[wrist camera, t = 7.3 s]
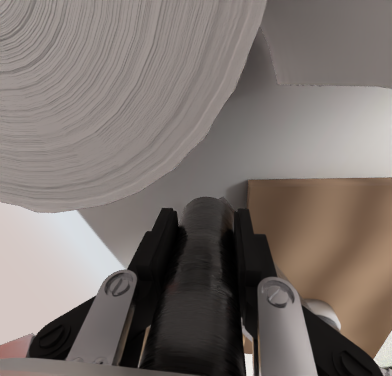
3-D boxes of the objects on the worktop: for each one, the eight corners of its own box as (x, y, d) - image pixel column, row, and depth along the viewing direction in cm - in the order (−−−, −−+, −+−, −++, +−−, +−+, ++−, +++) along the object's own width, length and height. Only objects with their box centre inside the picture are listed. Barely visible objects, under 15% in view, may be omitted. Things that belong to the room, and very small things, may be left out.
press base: (464, 176, 14) (621, 236, 8) (363, 351, 23) (405, 430, 18) (187, 180, 16) (170, 230, 10) (202, 338, 26) (197, 405, 20)
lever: (345, 335, 18) (471, 590, 9) (288, 349, 20) (346, 571, 11) (223, 170, 12) (232, 428, 3) (159, 211, 14) (47, 447, 5)
